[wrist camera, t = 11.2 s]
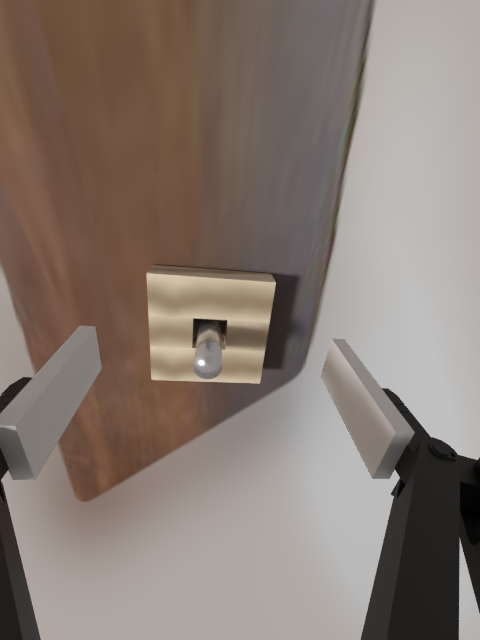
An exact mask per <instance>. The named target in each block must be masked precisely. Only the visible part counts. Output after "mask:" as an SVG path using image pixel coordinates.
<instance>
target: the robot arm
mask: <svg viewBox="0 0 480 640" xmlns="http://www.w3.org/2000/svg"><path fill="white" fill-rule="evenodd" d="M101 369H102V367H101V361H100V354H99V348H98V341H97V335H96V328H95V326H79V327H78V328H77V330H76V331H75V332H74V333H73V334H72V335H71V336H70V337H69V338H68V340H67V341H66V342H65V343H64V344H63V345H62V346H61V347H60V348H59V349H58V351H57V352H56V353H55V354H54V355H53V356H52V357H51V358H50V359H49V360H48V362H47V363H46V364H45V365H44V366H43V367H42V368H41V369H40V370H39V371H38V373H37V374H36V375H35V376H34V377H33V378H28V377H23V378H21V379H20V380H18V381H16V382H15V383H13V384H11V385H10V386H9V387H8V388H7V389H6V390H5V391H4V392H3V393H2V394H1V396H0V640H41V639H40V635H39V631H38V627H37V623H36V619H35V615H34V610H33V606H32V602H31V598H30V594H29V590H28V586H27V582H26V578H25V573H24V569H23V565H22V561H21V557H20V553H19V549H18V545H17V541H16V537H15V533H14V528H13V524H12V520H11V516H10V512H9V508H8V504H7V500H6V496H5V491H4V487H3V484H2V482H1V479H2V478H3V476H4V475H5V473H6V472H7V471H8V470H9V472H10V475H11V477H12V479H13V480H35V479H36V477H37V476H38V474H39V472H40V471H41V469H42V467H43V466H44V464H45V462H46V460H47V459H48V457H49V456H50V454H51V452H52V450H53V449H54V447H55V446H56V444H57V442H58V441H59V439H60V437H61V436H62V434H63V432H64V431H65V429H66V427H67V426H68V424H69V422H70V421H71V419H72V417H73V416H74V414H75V412H76V410H77V409H78V407H79V405H80V404H81V402H82V400H83V399H84V397H85V395H86V394H87V392H88V390H89V389H90V387H91V385H92V384H93V382H94V380H95V379H96V377H97V375H98V374H99V372H100V370H101ZM321 378H322V380H323V381H324V383H325V385H326V388H327V389H328V391H329V393H330V395H331V397H332V399H333V401H334V403H335V405H336V407H337V409H338V411H339V413H340V415H341V417H342V419H343V421H344V423H345V425H346V427H347V429H348V431H349V433H350V435H351V437H352V439H353V441H354V443H355V445H356V447H357V449H358V451H359V453H360V455H361V457H362V459H363V461H364V463H365V465H366V467H367V469H368V471H369V473H370V475H371V477H372V478H373V479H378V478H379V479H383V478H384V479H389V478H390V477H391V475H392V473H393V471H394V469H395V470H396V472H397V473H398V475H399V476H400V479H399V481H398V482H397V484H396V486H395V488H394V489H393V491H392V493H391V495H393V496H394V499H393V503H392V508H391V512H390V516H389V520H388V525H387V529H386V533H385V537H384V542H383V546H382V550H381V555H380V559H379V563H378V568H377V572H376V576H375V580H374V585H373V589H372V593H371V598H370V602H369V607H368V611H367V615H366V620H365V624H364V628H363V632H362V636H361V640H459V537H460V540H461V544H462V547H463V552H464V555H465V559H466V563H467V567H468V570H469V574H470V578H471V582H472V586H473V590H474V593H475V597H476V601H477V604H478V608H479V612H480V458H479V459H478V460H475V459H471V458H467V457H464V456H460V455H457V453H456V452H455V450H454V449H452V448H451V447H450V446H449V445H448V444H446V443H444V442H443V441H441V440H438V439H436V438H431V437H430V436H429V434H428V433H427V432H426V431H425V429H424V428H423V427H422V426H421V424H420V423H419V422H418V421H417V420H416V418H415V417H414V416H413V415H412V413H410V411H409V410H408V408H407V407H406V406H404V403H403V402H402V401H401V400H400V398H399V397H398V396H397V395H396V394H394V393H393V392H391V391H390V390H389V389H384V388H381V387H380V386H379V384H378V383H377V382H376V380H375V379H374V378H373V377H372V375H371V374H370V373H369V371H368V370H367V369H366V367H365V366H364V365H363V363H362V362H361V361H360V359H359V358H358V357H357V356H356V354H355V353H354V351H353V350H352V349H351V347H350V346H349V345H348V343H347V342H346V341H345V340H344V339H332V340H331V344H330V347H329V351H328V354H327V357H326V361H325V364H324V368H323V371H322V375H321Z"/></svg>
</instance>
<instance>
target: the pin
mask: <svg viewBox="0 0 480 640" xmlns="http://www.w3.org/2000/svg"><path fill="white" fill-rule="evenodd" d="M193 369H194V372H195V374H196V375H197V376H199V377H200V378H203V379H213V378H215V377H217V376H218V375H219V374H220V373H221V371H222V338H221V320H215V319H200V321H199V329H198V336H197V344H196V351H195V358H194V366H193Z"/></svg>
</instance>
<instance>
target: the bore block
mask: <svg viewBox="0 0 480 640" xmlns="http://www.w3.org/2000/svg"><path fill="white" fill-rule="evenodd" d="M275 286H276V282H275V280H274V278H273V277H272V275H271V273H258V272H244V271H231V270H218V269H205V268H192V267H178V266H165V265H153V266H152V267H151V268H150V270H149V271H148V272H147V291H148V313H149V334H150V356H151V377H152V380H172V381H202V382H233V383H260V380H261V374H262V368H263V361H264V355H265V349H266V342H267V336H268V330H269V324H270V317H271V311H272V305H273V299H274V292H275ZM200 319H215V320H221V338H222V371H221V373H220V374H219V375H218V376H217V377H215V378H213V379H203V378H200V377H199V376H197V375H196V374H195V372H194V369H193V366H194V358H195V351H196V344H197V336H198V329H199V321H200Z"/></svg>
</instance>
